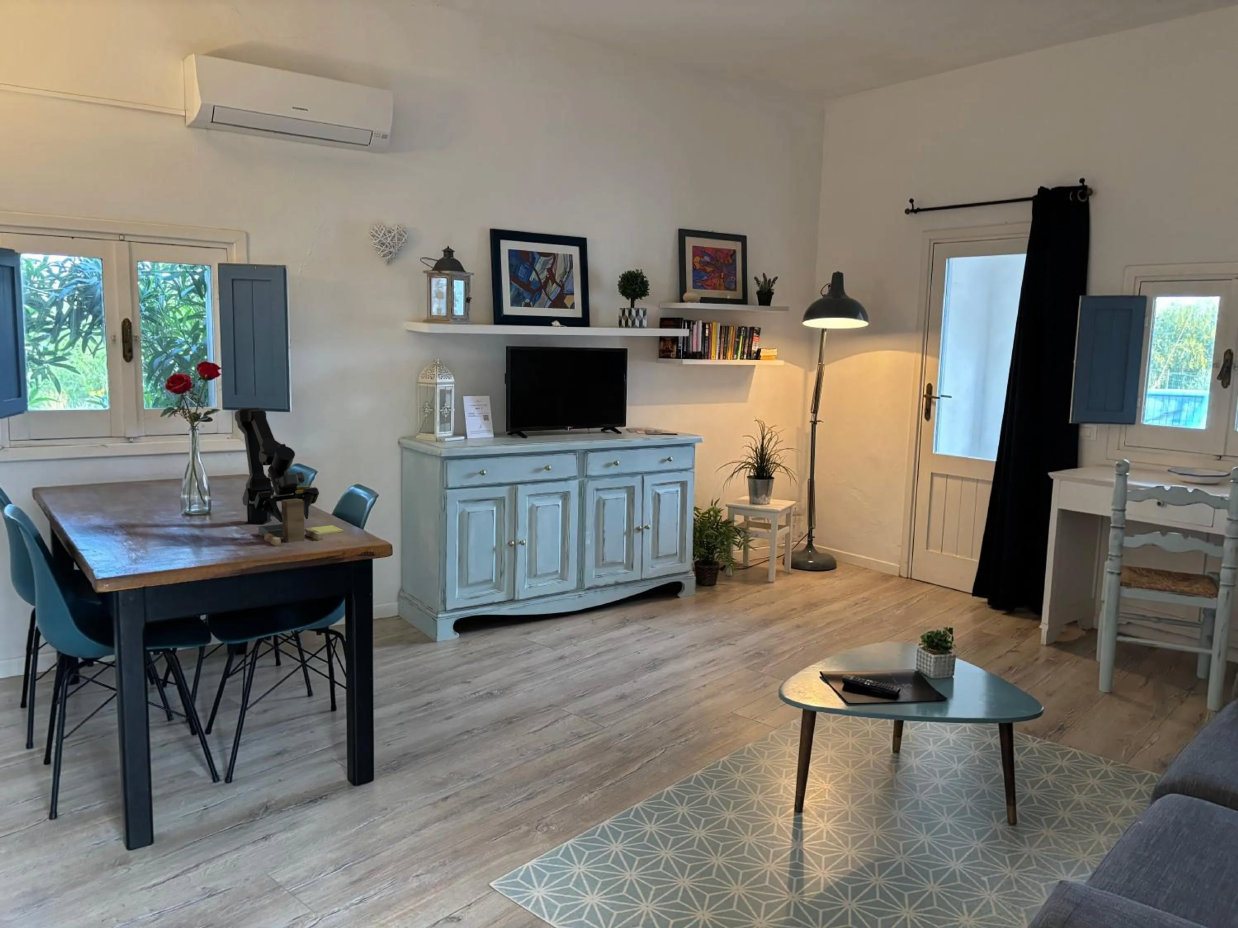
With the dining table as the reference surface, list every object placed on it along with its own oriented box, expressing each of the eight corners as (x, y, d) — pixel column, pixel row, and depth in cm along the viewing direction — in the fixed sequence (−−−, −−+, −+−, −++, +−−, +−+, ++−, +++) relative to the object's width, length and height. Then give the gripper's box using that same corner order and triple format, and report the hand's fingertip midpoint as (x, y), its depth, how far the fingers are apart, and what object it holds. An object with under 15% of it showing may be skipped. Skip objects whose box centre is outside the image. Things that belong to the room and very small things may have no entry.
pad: (305, 530, 293) (305, 528, 293) (332, 526, 299) (332, 525, 299) (315, 535, 287) (315, 533, 287) (343, 531, 292) (343, 529, 292)
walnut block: (282, 539, 280) (281, 500, 278) (298, 537, 283) (297, 498, 281) (288, 542, 276) (287, 502, 274) (304, 540, 279) (303, 500, 277)
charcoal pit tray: (258, 533, 287) (258, 526, 286) (286, 530, 293) (286, 523, 292) (268, 539, 280) (267, 531, 280) (296, 535, 286) (296, 527, 285)
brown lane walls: (264, 539, 279) (264, 533, 278) (310, 534, 288) (310, 528, 288) (275, 545, 271) (275, 539, 271) (322, 539, 280) (322, 533, 280)
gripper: (255, 466, 273) (269, 507, 266) (316, 462, 285) (330, 501, 278) (248, 488, 280) (261, 529, 273) (307, 483, 292) (321, 522, 285)
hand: (294, 519), depth 277 cm, fingers open, 8 cm apart
